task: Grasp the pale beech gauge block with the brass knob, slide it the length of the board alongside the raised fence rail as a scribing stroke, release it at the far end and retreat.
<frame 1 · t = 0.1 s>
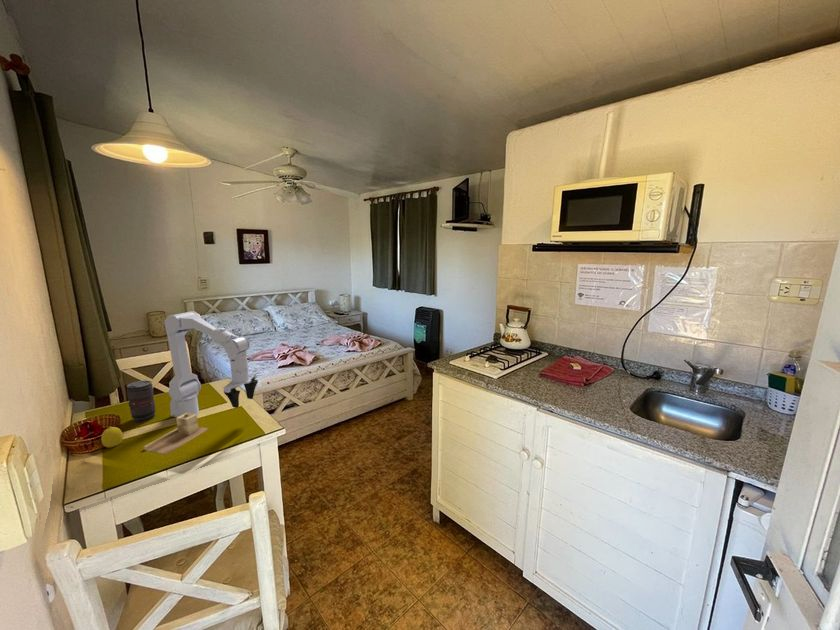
hand: (243, 402, 132), 10 cm above the table, fingers open, 7 cm apart
board: (178, 442, 124), on the table
lemon: (114, 448, 120), on the table
camera lens: (144, 418, 141), on the table
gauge: (188, 431, 128), point 1 cm above the table, touching board
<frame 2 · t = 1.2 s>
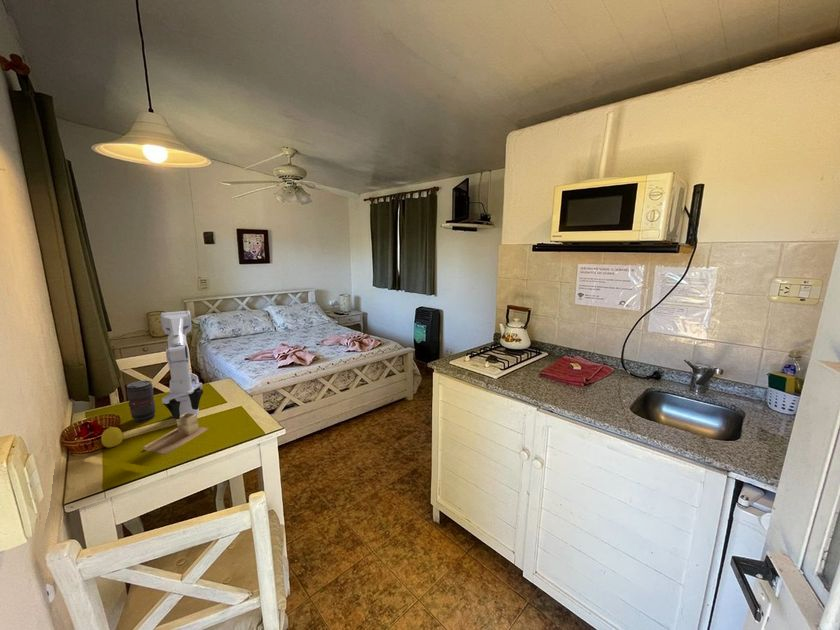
hand: (186, 413, 127), 9 cm above the table, fingers open, 7 cm apart
nothing on the table moved.
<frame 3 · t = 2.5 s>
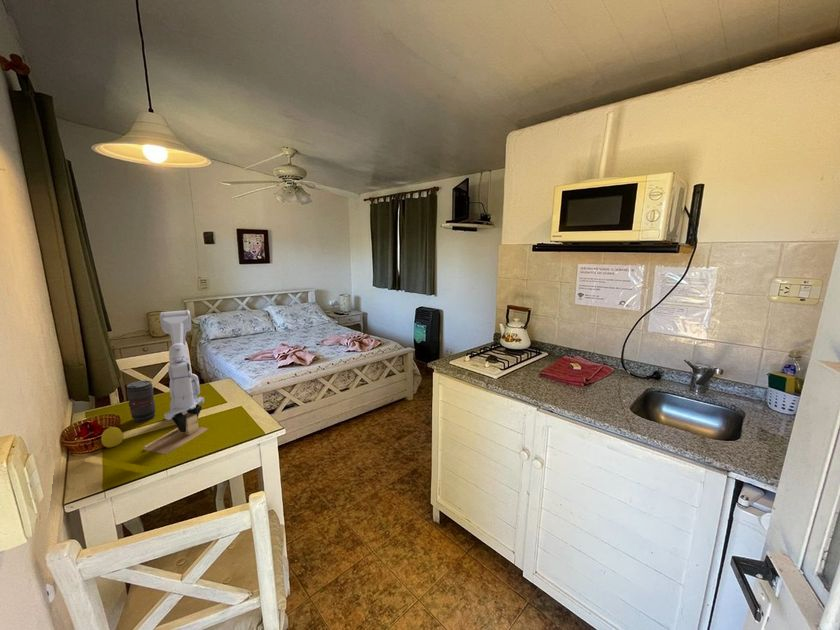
hand: (188, 428, 128), 3 cm above the table, fingers closed on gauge, 4 cm apart
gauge: (188, 431, 128), point 1 cm above the table, touching board, gripper
everything else where it was.
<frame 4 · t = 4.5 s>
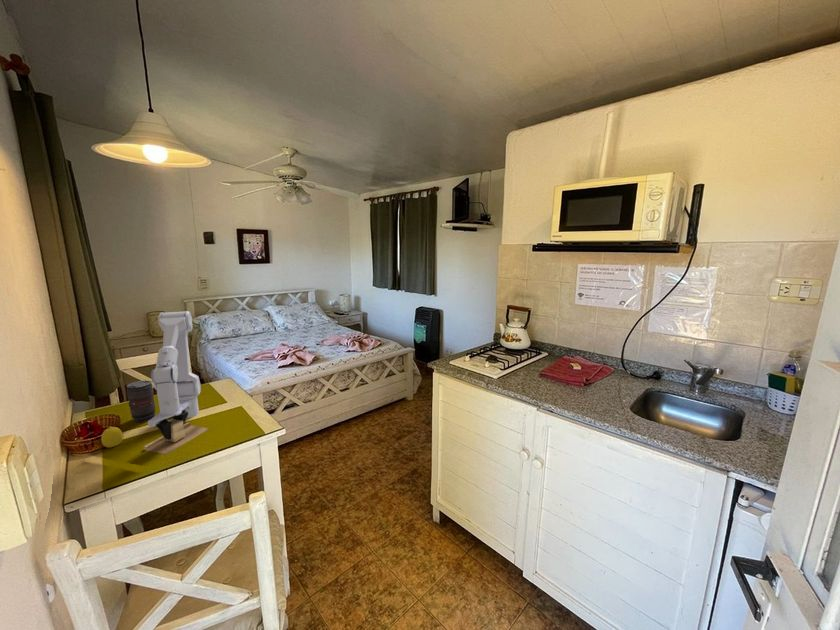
hand: (174, 435, 123), 3 cm above the table, fingers closed on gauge, 4 cm apart
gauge: (174, 438, 123), point 2 cm above the table, touching gripper
everything else where it was.
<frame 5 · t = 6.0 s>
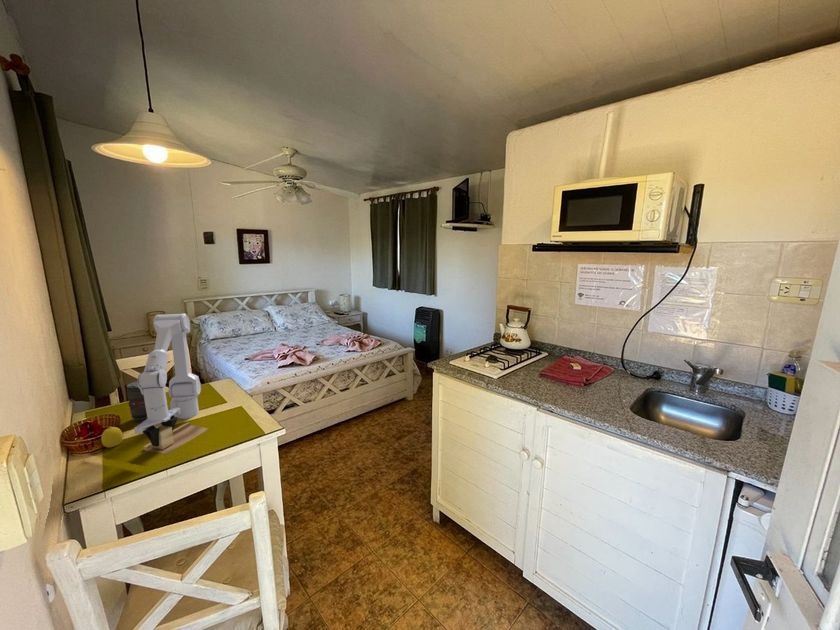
hand: (162, 442, 119), 3 cm above the table, fingers closed on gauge, 4 cm apart
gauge: (162, 444, 119), point 2 cm above the table, touching gripper
everything else where it was.
when the fingers open (3 cm above the table, at t = 6.7 s): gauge stays where it is, resting on board.
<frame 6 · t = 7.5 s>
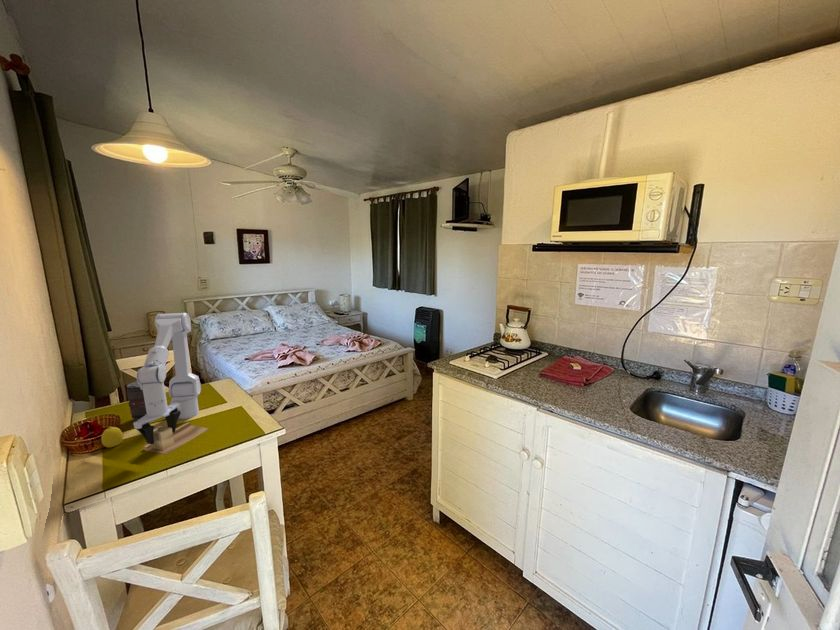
hand: (161, 437, 118), 5 cm above the table, fingers open, 7 cm apart
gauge: (163, 445, 119), point 1 cm above the table, touching board
everything else where it was.
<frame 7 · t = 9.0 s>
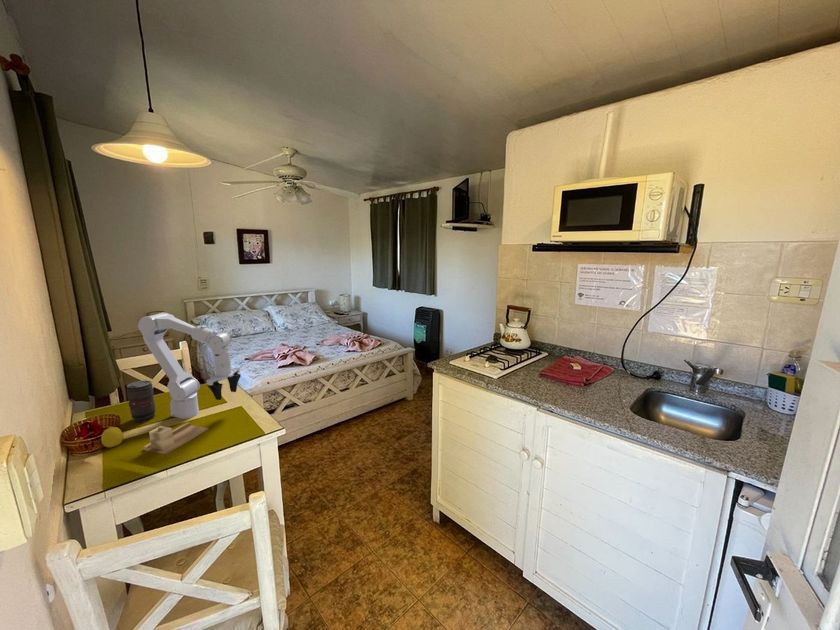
hand: (226, 395, 139), 10 cm above the table, fingers open, 7 cm apart
nothing on the table moved.
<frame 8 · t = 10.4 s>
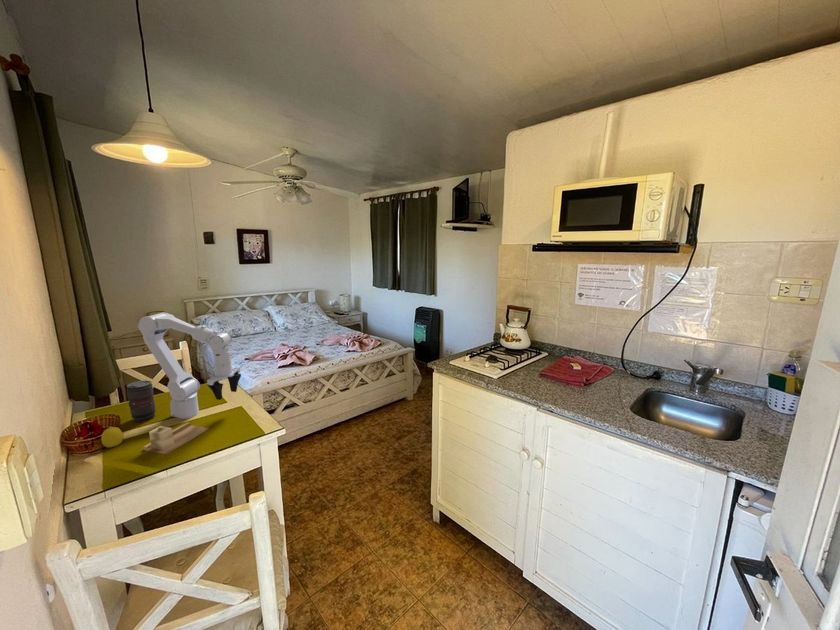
hand: (226, 395, 139), 10 cm above the table, fingers open, 7 cm apart
nothing on the table moved.
at the end: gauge 0.6 cm from the target spot on the board, point 1.5 cm above the board's base; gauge tilted 0°; the gripper is holding nothing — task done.
